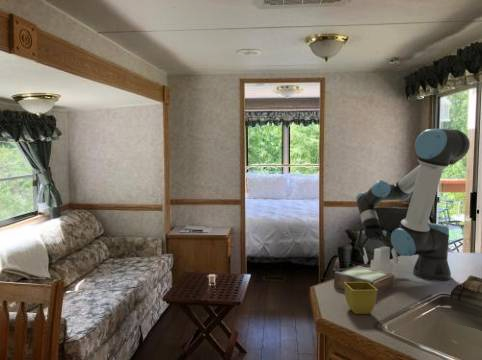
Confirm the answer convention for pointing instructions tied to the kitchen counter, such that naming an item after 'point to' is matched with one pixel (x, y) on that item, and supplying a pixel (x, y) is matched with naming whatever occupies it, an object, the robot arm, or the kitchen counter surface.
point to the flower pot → (360, 296)
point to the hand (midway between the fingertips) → (381, 262)
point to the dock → (365, 278)
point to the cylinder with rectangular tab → (382, 260)
